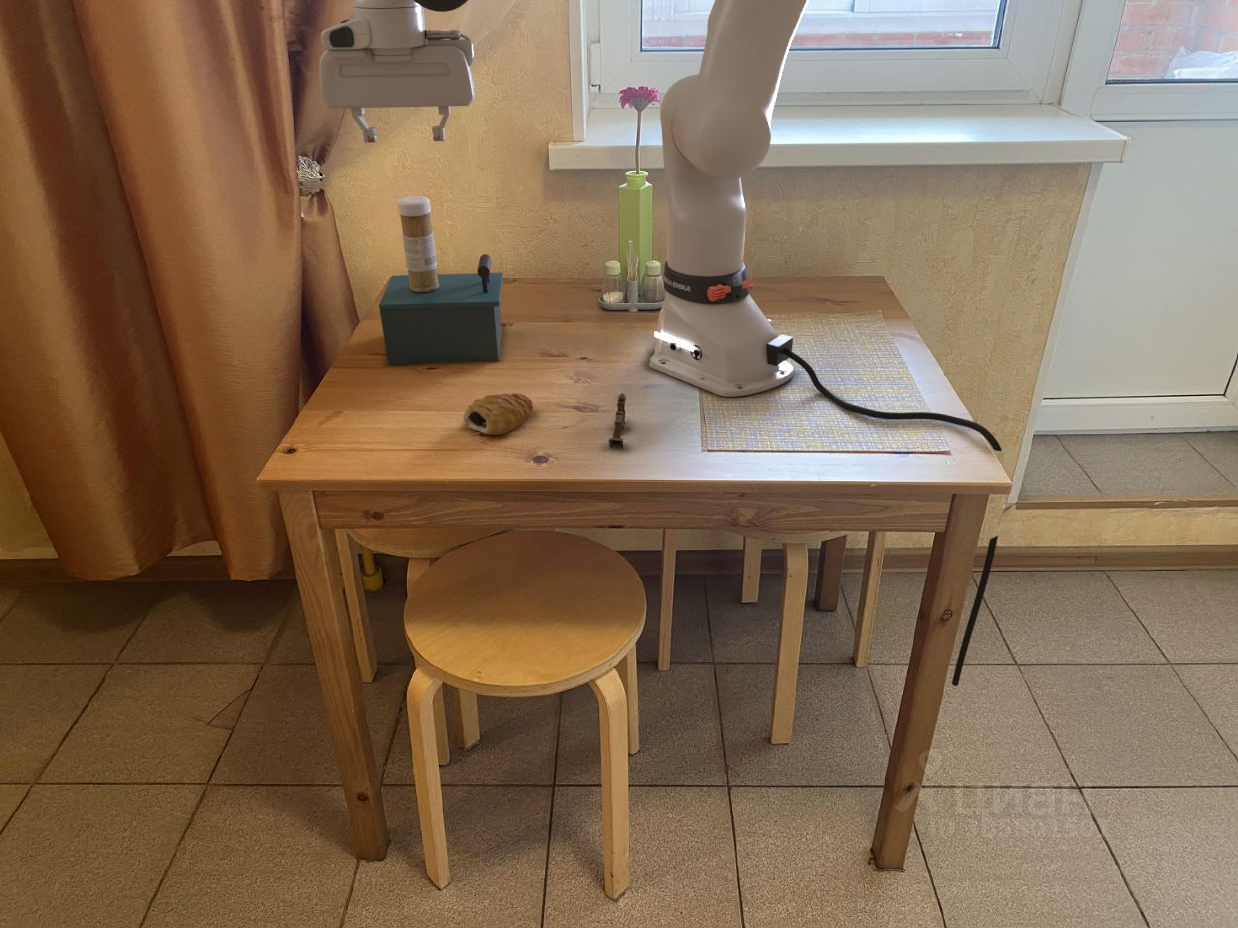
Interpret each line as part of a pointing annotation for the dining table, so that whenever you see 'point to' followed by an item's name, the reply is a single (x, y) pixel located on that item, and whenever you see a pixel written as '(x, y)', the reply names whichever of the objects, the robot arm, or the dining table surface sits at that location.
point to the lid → (447, 290)
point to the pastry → (498, 413)
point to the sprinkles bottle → (418, 243)
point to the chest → (442, 335)
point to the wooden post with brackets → (618, 424)
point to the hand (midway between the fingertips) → (405, 141)
